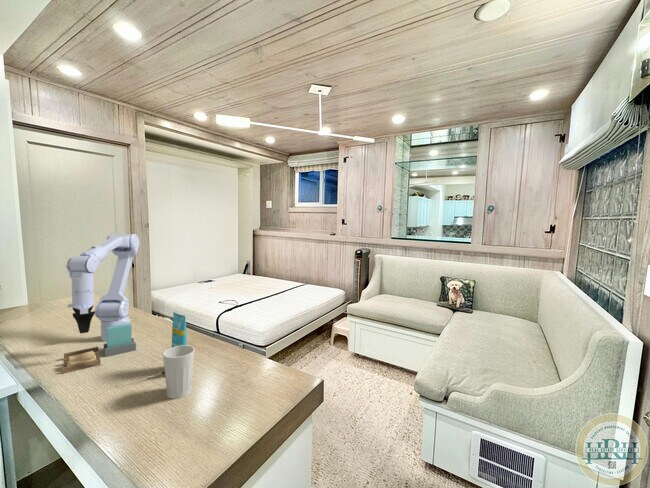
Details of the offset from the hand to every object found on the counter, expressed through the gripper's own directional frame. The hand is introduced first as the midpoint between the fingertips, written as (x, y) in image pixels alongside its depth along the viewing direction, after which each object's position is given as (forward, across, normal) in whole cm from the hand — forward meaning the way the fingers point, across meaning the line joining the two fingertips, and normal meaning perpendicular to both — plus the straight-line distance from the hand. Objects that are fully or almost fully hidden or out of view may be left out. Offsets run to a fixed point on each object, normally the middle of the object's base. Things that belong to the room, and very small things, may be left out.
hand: (83, 329), depth 96 cm
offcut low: (+9, +8, -1) cm, 12 cm away
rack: (+10, +4, -1) cm, 11 cm away
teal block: (+9, +2, +10) cm, 14 cm away
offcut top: (+8, +8, -1) cm, 11 cm away
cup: (+11, +41, +20) cm, 47 cm away
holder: (+10, +2, +10) cm, 14 cm away
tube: (+11, +29, +23) cm, 38 cm away
